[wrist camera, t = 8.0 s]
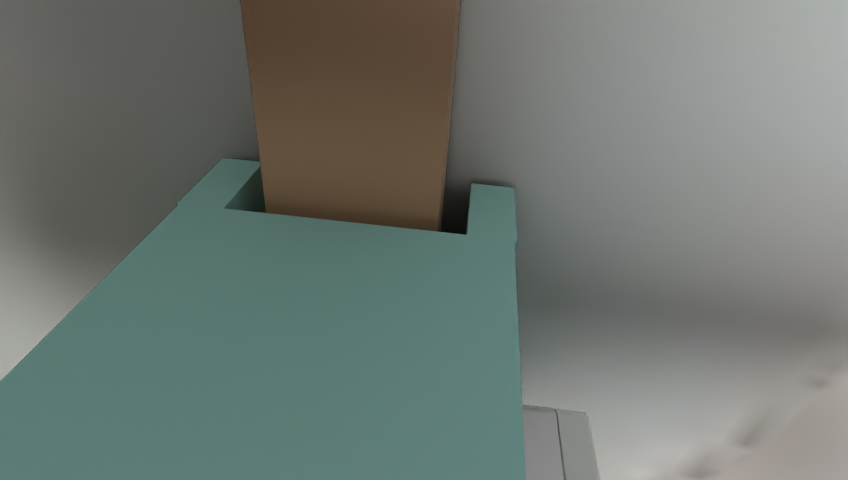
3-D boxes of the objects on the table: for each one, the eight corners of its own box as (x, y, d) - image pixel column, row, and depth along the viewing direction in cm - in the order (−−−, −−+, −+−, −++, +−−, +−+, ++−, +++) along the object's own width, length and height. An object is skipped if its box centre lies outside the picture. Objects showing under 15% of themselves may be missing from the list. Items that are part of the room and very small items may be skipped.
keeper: (223, 157, 10) (-107, 481, 5) (514, 187, 10) (536, 576, 4) (258, 374, 14) (89, 717, 8) (478, 402, 13) (464, 782, 8)
